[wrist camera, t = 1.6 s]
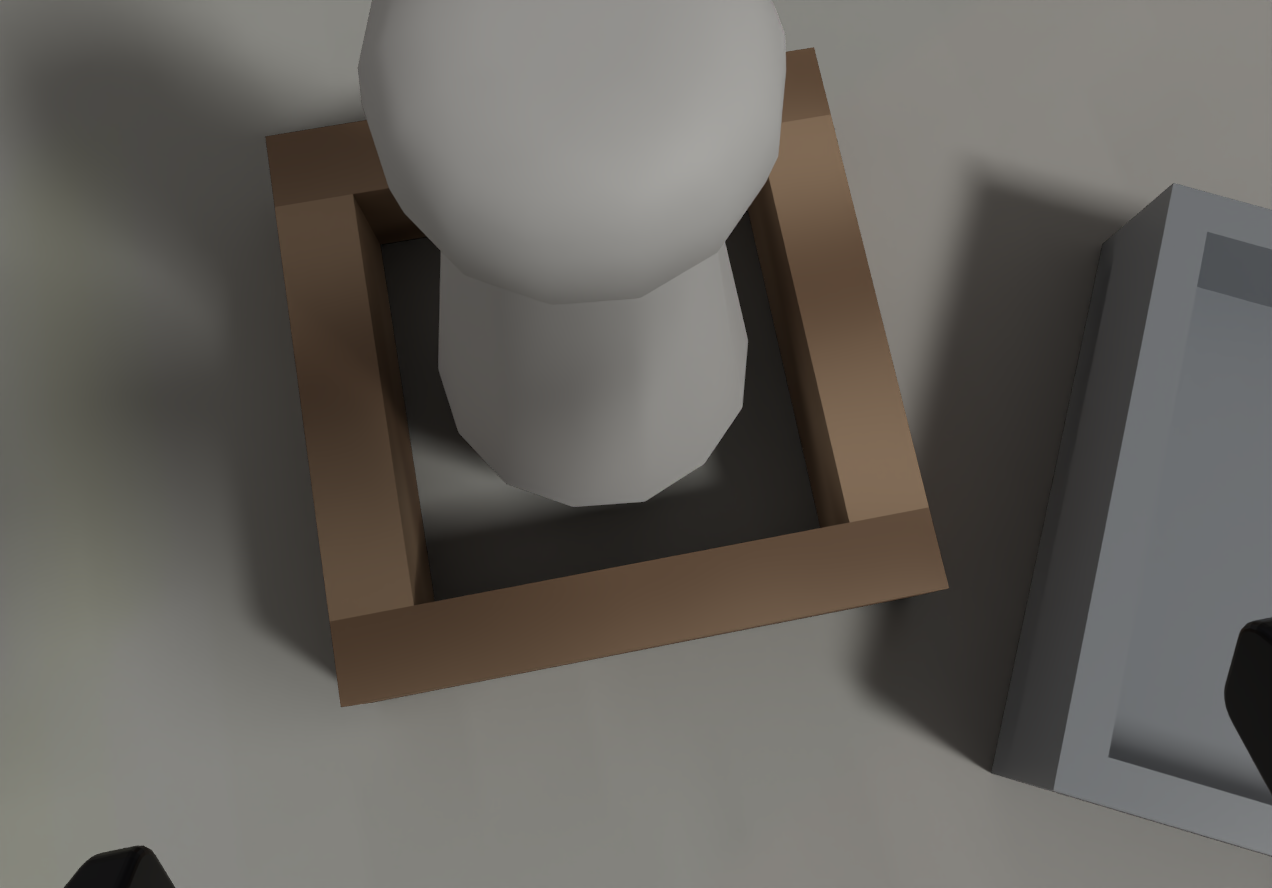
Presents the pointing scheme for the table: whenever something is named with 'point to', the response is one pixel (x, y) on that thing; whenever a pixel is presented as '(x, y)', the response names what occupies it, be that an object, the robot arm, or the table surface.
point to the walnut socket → (620, 596)
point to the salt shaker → (581, 220)
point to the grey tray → (1157, 531)
